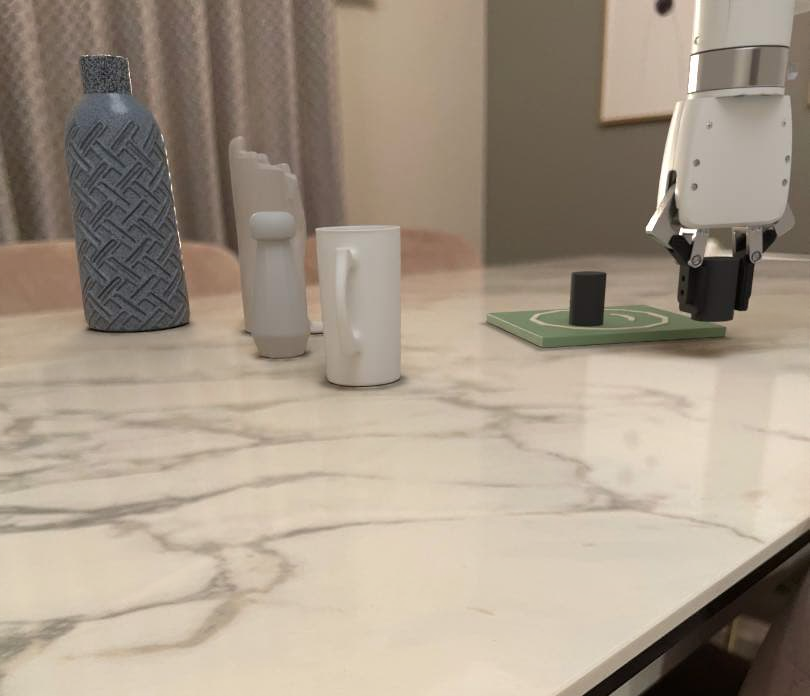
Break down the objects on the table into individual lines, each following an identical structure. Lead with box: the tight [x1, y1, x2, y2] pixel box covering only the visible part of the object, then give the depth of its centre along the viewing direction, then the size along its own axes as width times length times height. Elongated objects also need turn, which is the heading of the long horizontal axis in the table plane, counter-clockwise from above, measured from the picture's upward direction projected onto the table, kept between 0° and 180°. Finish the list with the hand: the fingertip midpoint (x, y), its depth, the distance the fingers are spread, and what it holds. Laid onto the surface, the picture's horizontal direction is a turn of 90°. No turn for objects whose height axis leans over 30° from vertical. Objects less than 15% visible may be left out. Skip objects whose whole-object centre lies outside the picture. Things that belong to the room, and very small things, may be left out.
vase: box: [63, 54, 191, 333], centre depth 97 cm, size 12×12×28 cm
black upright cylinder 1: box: [568, 270, 608, 326], centre depth 89 cm, size 4×4×5 cm
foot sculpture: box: [228, 135, 323, 334], centre depth 93 cm, size 7×14×20 cm, turn 88°
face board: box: [486, 304, 727, 349], centre depth 93 cm, size 20×18×1 cm
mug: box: [315, 225, 402, 387], centre depth 68 cm, size 10×7×12 cm, turn 169°
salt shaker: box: [249, 211, 311, 359], centre depth 80 cm, size 6×6×13 cm
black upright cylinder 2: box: [690, 255, 740, 323], centre depth 75 cm, size 4×4×5 cm
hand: (712, 308), depth 76 cm, fingers closed on black upright cylinder 2, 3 cm apart
